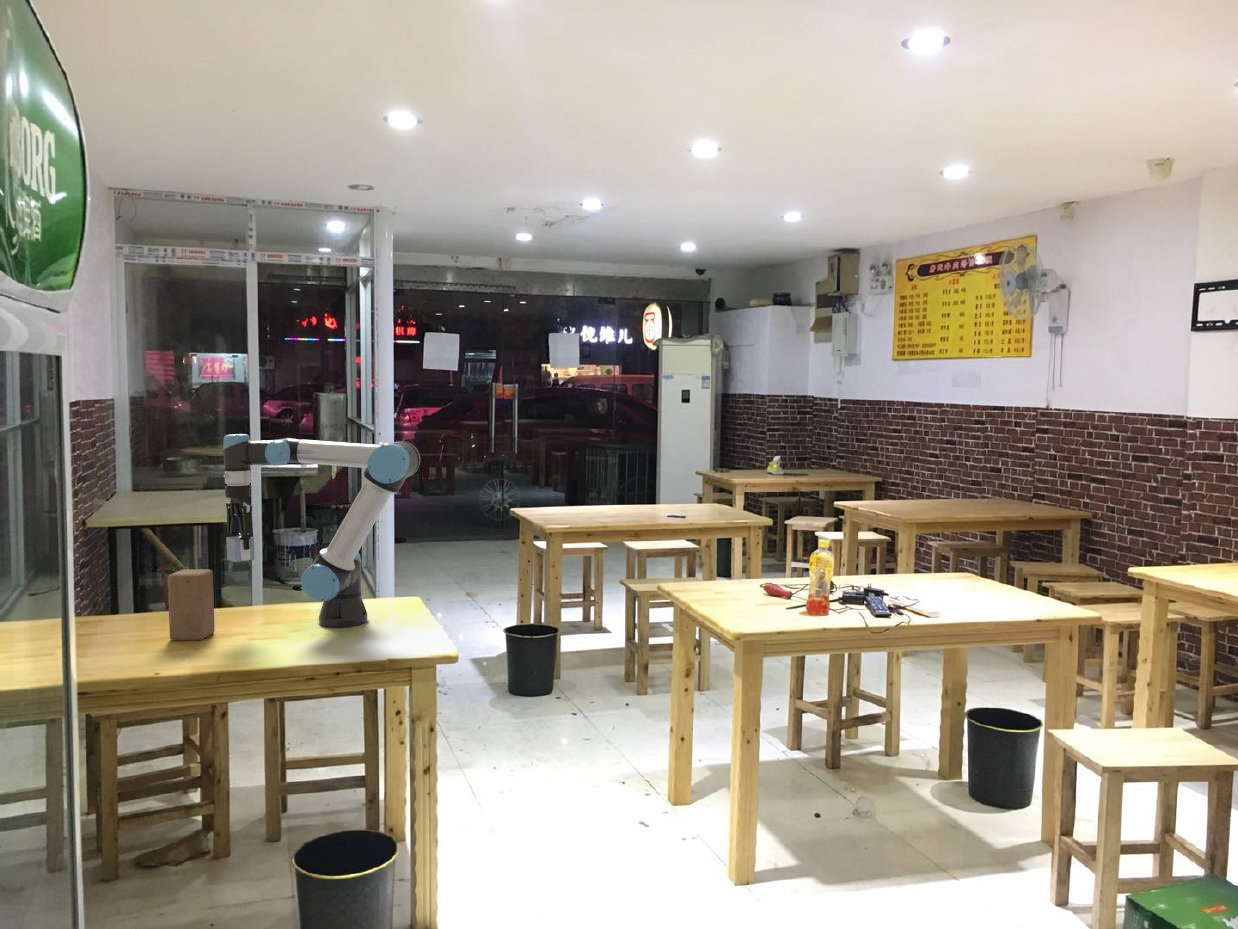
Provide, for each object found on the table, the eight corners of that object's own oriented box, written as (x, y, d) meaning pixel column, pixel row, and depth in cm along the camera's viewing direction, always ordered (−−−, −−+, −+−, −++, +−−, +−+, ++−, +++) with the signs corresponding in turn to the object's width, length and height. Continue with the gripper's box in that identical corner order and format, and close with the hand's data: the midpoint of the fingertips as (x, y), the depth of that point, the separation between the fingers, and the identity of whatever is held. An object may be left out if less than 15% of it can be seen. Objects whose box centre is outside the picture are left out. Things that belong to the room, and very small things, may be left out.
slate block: (246, 557, 306) (245, 535, 305) (254, 559, 301) (253, 537, 301) (227, 559, 302) (226, 537, 301) (235, 562, 297) (234, 539, 297)
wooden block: (201, 641, 290) (199, 574, 289) (168, 641, 291) (166, 574, 289) (216, 632, 300) (213, 568, 299) (183, 632, 301) (181, 568, 299)
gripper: (213, 483, 304) (216, 556, 306) (239, 487, 290) (242, 564, 292) (237, 481, 309) (239, 553, 311) (263, 485, 296) (266, 560, 297)
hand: (241, 558), depth 301 cm, fingers closed on slate block, 6 cm apart
